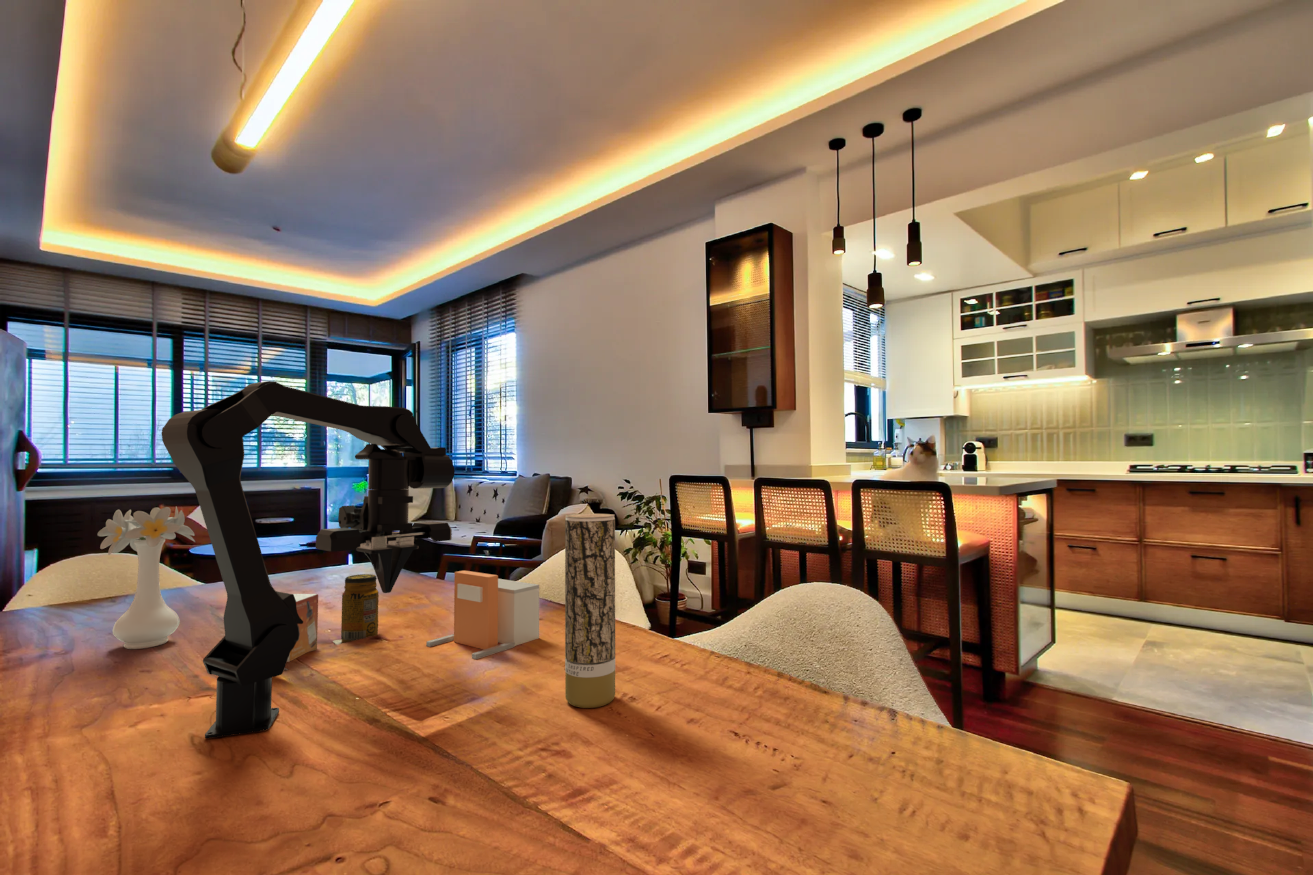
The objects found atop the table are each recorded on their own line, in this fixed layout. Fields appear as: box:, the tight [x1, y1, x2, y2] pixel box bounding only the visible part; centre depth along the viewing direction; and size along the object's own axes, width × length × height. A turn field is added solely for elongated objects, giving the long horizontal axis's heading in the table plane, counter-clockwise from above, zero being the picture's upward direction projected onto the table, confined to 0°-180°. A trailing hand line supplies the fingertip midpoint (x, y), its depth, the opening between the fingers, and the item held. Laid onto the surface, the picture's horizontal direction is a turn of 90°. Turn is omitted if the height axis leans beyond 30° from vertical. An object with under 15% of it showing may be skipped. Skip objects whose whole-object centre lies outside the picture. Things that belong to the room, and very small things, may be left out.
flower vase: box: [97, 506, 196, 650], centre depth 111 cm, size 13×18×25 cm
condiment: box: [332, 573, 380, 646], centre depth 111 cm, size 7×8×12 cm
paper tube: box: [564, 513, 616, 709], centre depth 84 cm, size 7×7×25 cm
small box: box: [284, 593, 319, 671], centre depth 100 cm, size 8×6×10 cm
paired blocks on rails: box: [425, 578, 540, 660], centre depth 104 cm, size 20×14×11 cm
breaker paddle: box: [453, 570, 499, 650], centre depth 104 cm, size 2×9×12 cm, turn 55°
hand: (386, 592), depth 93 cm, fingers closed
